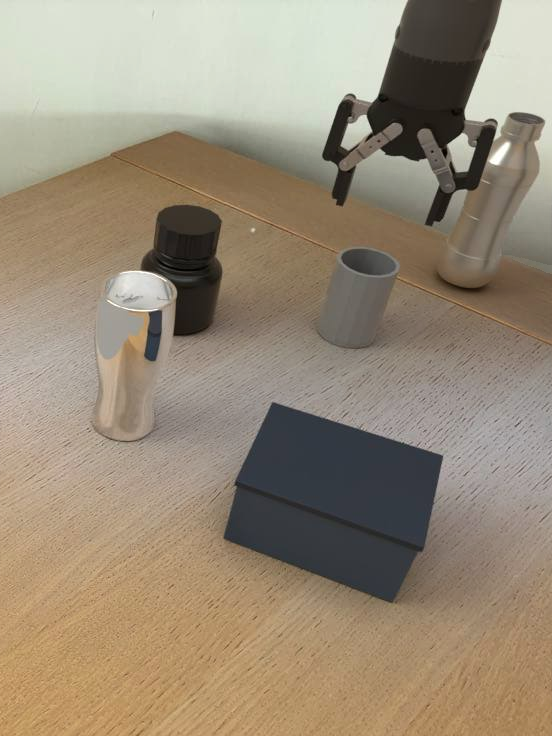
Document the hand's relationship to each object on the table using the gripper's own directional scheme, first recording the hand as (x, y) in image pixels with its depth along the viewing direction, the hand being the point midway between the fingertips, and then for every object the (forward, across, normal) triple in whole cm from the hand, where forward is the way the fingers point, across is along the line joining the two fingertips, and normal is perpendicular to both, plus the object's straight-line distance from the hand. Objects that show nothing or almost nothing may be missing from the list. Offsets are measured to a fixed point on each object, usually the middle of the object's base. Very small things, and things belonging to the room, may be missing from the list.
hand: (383, 212), depth 83 cm
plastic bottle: (+15, -10, -18) cm, 25 cm away
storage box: (+15, -4, +30) cm, 34 cm away
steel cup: (+15, 0, 0) cm, 15 cm away
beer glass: (+15, +16, +26) cm, 34 cm away
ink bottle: (+15, +18, +6) cm, 24 cm away
